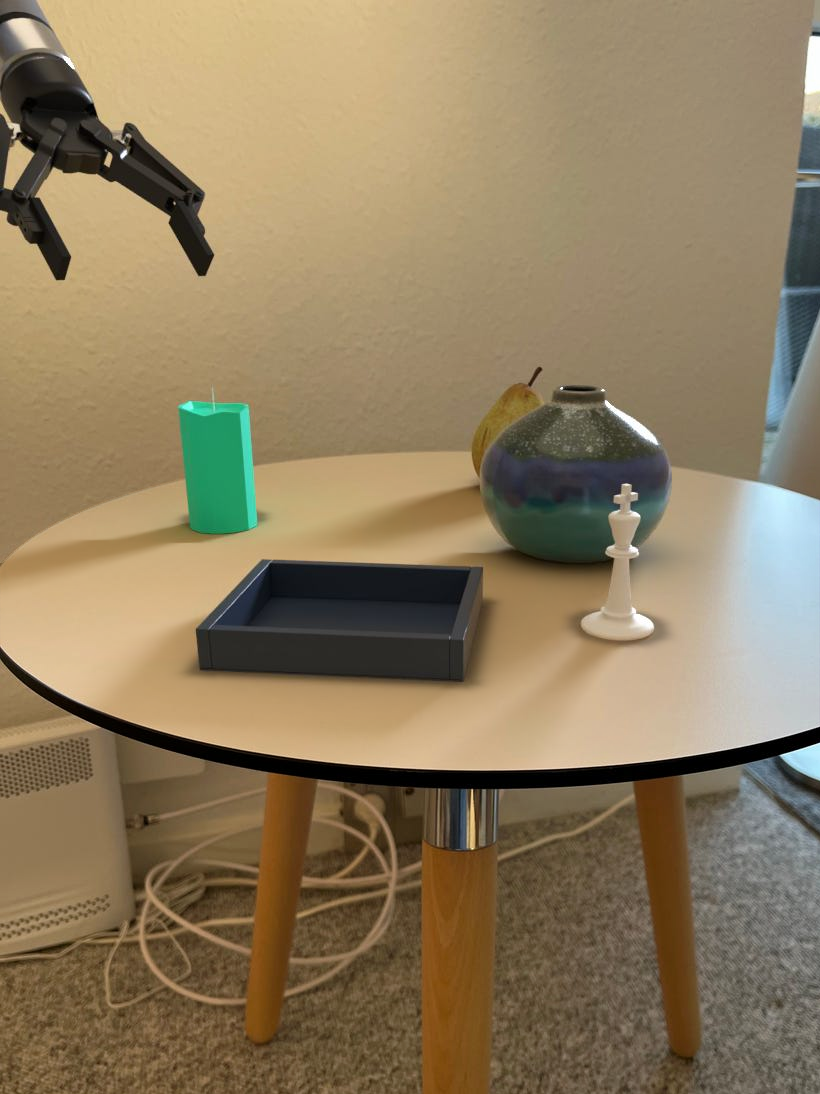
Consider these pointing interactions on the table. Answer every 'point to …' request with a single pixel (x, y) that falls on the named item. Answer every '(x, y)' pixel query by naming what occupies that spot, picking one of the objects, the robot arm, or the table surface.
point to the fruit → (504, 416)
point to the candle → (218, 466)
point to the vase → (572, 477)
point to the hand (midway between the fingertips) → (138, 267)
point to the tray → (346, 621)
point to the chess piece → (620, 580)
